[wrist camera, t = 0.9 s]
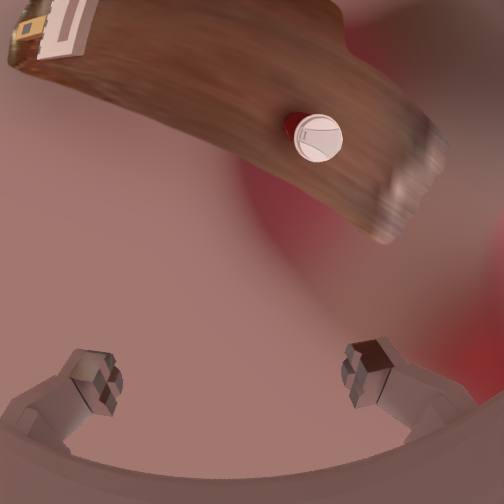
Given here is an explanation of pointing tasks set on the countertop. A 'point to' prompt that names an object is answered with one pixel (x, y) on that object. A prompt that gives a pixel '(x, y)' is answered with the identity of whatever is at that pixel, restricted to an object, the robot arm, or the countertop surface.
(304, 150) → the paper cup
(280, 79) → the countertop surface
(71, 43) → the ticket block
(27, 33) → the stub
